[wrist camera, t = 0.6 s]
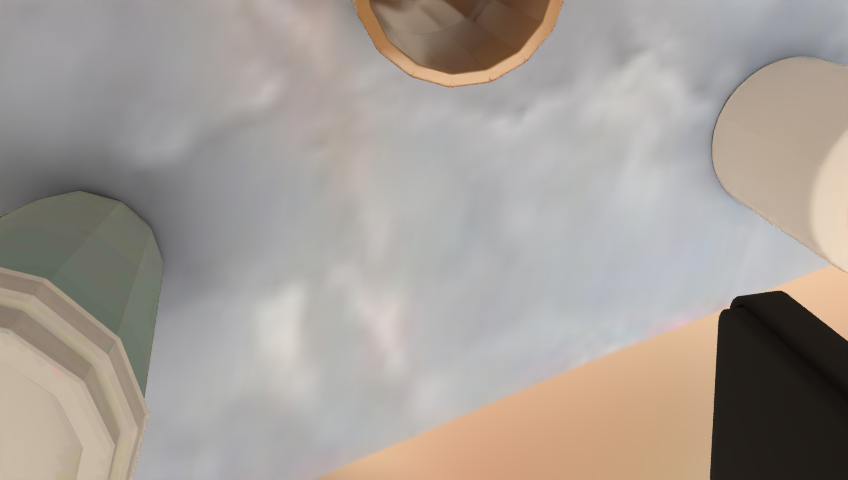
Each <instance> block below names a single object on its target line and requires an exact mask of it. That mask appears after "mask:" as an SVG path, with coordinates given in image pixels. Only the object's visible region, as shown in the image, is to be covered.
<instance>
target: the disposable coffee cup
mask: <svg viewBox="0 0 848 480" xmlns="http://www.w3.org/2000/svg"><path fill="white" fill-rule="evenodd" d="M163 268H164V263H163V260H162V257H161V255H160V252H159V249H158V246H157V243H156V240H155V238H154V235H153V232H152V229H151V228H150V227H149V225H147V224H146V223H145V222H144V221H143V220H142V219H141V218H139V217H138V216H137V215H136V214H135V213H134V212H133V211H132V210H130V209H129V208H128V207H127V206H126V205H125V204H124V203H122V202H121V201H117V200H113V199H110V198H106V197H102V196H99V195H95V194H91V193H88V192H83V191H74V192H70V193H65V194H60V195H56V196H51V197H46V198H42V199H38V200H36V201H34V202H32V203H30V204H28V205H25V206H23V207H21V208H19V209H17V210H15V211H13V212H10V213H8V214H6V215H4V216H2V217H0V480H132V478H133V474H134V470H135V466H136V463H137V459H138V455H139V451H140V447H141V443H142V439H143V436H144V432H145V428H146V424H147V420H148V416H149V410H148V408H147V405H146V403H145V400H144V398H145V391H146V384H147V377H148V370H149V363H150V357H151V350H152V343H153V336H154V329H155V322H156V316H157V309H158V302H159V295H160V288H161V282H162V275H163Z"/></svg>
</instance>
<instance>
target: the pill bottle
mask: <svg viewBox="0 0 848 480" xmlns="http://www.w3.org/2000/svg"><path fill="white" fill-rule="evenodd" d="M712 158H713V165H714V168H715V172H716V175H717V177H718V179H719V181H720V183H721V185H722V186H723V188H724V189H725V190H726V191H727V192H728V193H729V194H730V196H731V197H732V198H734V199H735V200H737V201H738V202H740V203H741V204H743V205H744V206H746V207H747V208H749V209H750V210H752V211H753V212H755V213H756V214H757V215H759V216H760V217H762V218H763V219H765V220H766V221H768V222H769V223H771V224H772V225H774V226H775V227H777V228H778V229H780V230H781V231H783V232H784V233H786V234H787V235H789V236H790V237H792V238H793V239H795V240H796V241H798V242H799V243H801V244H802V245H804V246H805V247H807V248H808V249H810V250H811V251H813V252H814V253H816V254H817V255H819V256H820V257H822V258H823V259H825V260H826V261H828V262H829V263H831V264H832V265H834V266H835V267H837V268H838V269H840V270H842V271H844V272H846V273H848V66H847V65H843V64H839V63H836V62H832V61H829V60H825V59H820V58H815V57H810V56H806V57H791V58H787V59H783V60H778V61H776V62H774V63H772V64H769V65H767V66H765V67H763V68H761V69H760V70H758V71H757V72H755V73H754V74H752V75H751V76H749V77H748V78H747V79H746V80H745V81H744V82H743V83H742V84H741V85H740V86H739V87H738V88H737V89H736V90H735V92H734V93H733V94H732V95H731V97H730V98H729V99H728V101H727V102H726V104H725V106H724V108H723V110H722V112H721V113H720V115H719V118H718V121H717V124H716V127H715V130H714V135H713V142H712Z"/></svg>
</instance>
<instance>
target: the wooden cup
mask: <svg viewBox="0 0 848 480" xmlns="http://www.w3.org/2000/svg"><path fill="white" fill-rule="evenodd" d="M352 3H353V5H354V7H355V10H356V12H357V14H358V16H359V18H360V20H361V22H362V23H363V25H364V27H365V29H366V30H367V32H368V34H369V36H370V38H371V39H372V41H373V43H374V45H375V47H376V48H377V50H379V52H380V53H381V54H383V55H384V56H385V57H386V58H388V59H389V60H390V61H391V62H393V63H394V64H395V65H396V66H398V67H399V68H400V69H402V70H403V71H404V72H405V73H407V74H408V75H409V76H411V77H413V78H417V79H421V80H424V81H428V82H431V83H435V84H439V85H442V86H446V87H459V86H467V85H474V84H482V83H489V82H492V81H494V80H496V79H497V78H499V77H501V76H503V75H504V74H506V73H508V72H510V71H511V70H513V69H515V68H517V67H518V66H520V65H522V64H524V63H525V62H526V61H528V60H529V58H530V57H531V56H532V55H533V53H534V52H535V51H536V50H537V49H538V47H539V46H540V45H541V44H542V42H543V41H544V40H545V39H546V38H547V36H548V35H549V34H550V33H551V31H552V30H553V28H554V27H555V24H556V21H557V18H558V15H559V12H560V9H561V6H562V3H563V0H352Z"/></svg>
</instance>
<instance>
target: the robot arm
mask: <svg viewBox="0 0 848 480" xmlns="http://www.w3.org/2000/svg"><path fill="white" fill-rule="evenodd" d="M713 415H714V416H713V432H712V433H713V434H712V450H711V451H712V452H711V469H710V480H848V341H847V340H845V339H844V338H843V337H842V336H840V335H839V334H838V333H836V332H835V331H834V330H833V329H831V328H830V327H829V326H828V325H826V324H825V323H824V322H822V321H821V320H820V319H819V318H817V317H816V316H815V315H813V314H812V313H811V312H810V311H808V310H807V309H806V308H805V307H803V306H802V305H801V304H799V303H798V302H797V301H796V300H794V299H793V298H791V297H790V296H789V295H788V294H787V293H785V292H783V291H772V292H765V293H758V294H751V295H744V296H737V297H736V298H735V299H733V301H732V303H731V306H730V309H724V310H723V311H722V312H721V314H720V316H719V322H718V340H717V358H716V378H715V396H714V413H713Z"/></svg>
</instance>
